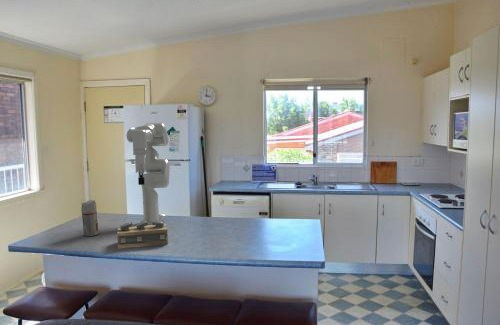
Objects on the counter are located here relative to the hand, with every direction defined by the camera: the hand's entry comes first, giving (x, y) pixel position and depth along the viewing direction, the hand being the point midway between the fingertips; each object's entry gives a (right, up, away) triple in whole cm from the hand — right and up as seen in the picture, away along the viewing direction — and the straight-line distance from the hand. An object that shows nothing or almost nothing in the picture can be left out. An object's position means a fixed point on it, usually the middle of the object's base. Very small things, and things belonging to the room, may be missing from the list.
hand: (141, 184), depth 224 cm
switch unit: (+4, -31, -13) cm, 33 cm away
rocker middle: (+4, -21, -14) cm, 25 cm away
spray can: (-30, -29, +4) cm, 42 cm away
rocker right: (+12, -20, -11) cm, 26 cm away
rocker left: (-4, -21, -16) cm, 26 cm away
